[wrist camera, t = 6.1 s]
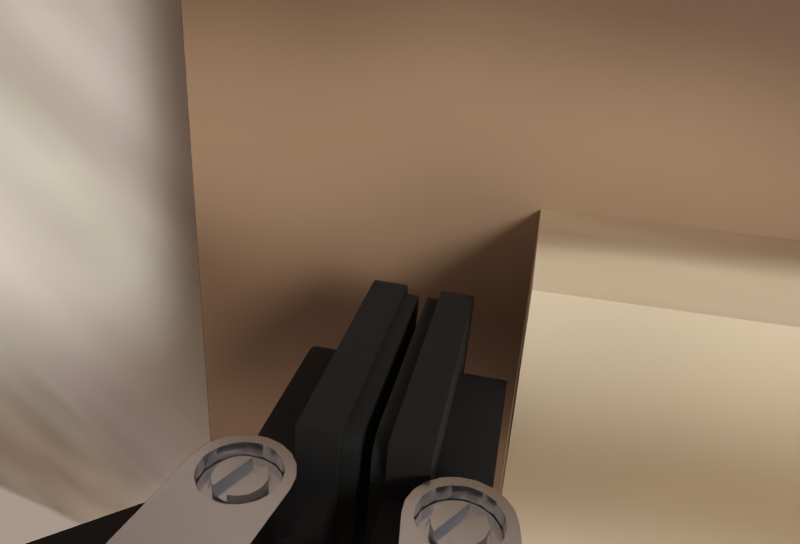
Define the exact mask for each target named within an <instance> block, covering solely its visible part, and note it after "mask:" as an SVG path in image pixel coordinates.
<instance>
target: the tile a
mask: <svg viewBox="0 0 800 544" xmlns="http://www.w3.org/2000/svg"><path fill="white" fill-rule="evenodd" d="M500 494H501V495H503V496H504V497H505V498H506V499H507V500H508V502H509V503H510V504H511V506H512V507H513V508H514V510H515V511H516V514H517V518H518V521H519V524H520V531H521V539H522V544H800V241H797V240H789V239H780V238H772V237H764V236H756V235H747V234H739V233H731V232H723V231H714V230H706V229H698V228H690V227H681V226H673V225H665V224H657V223H649V222H640V221H632V220H624V219H616V218H607V217H599V216H591V215H583V214H574V213H566V212H558V211H550V210H541V212H540V219H539V225H538V232H537V239H536V246H535V253H534V259H533V266H532V273H531V280H530V287H529V294H528V300H527V307H526V314H525V321H524V328H523V334H522V341H521V348H520V355H519V362H518V369H517V375H516V382H515V389H514V396H513V403H512V409H511V416H510V423H509V430H508V437H507V444H506V452H505V460H504V468H503V476H502V484H501V492H500Z"/></svg>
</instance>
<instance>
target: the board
mask: <svg viewBox="0 0 800 544" xmlns="http://www.w3.org/2000/svg"><path fill="white" fill-rule="evenodd" d="M181 8H182V23H183V38H184V53H185V68H186V82H187V97H188V112H189V127H190V141H191V156H192V171H193V186H194V201H195V215H196V230H197V245H198V260H199V275H200V289H201V304H202V319H203V334H204V349H205V363H206V378H207V393H208V408H209V423H210V437H211V442H212V441H215V440H217V439H219V438H224V437H228V436H233V435H258V434H259V432H260V430H261V429H262V427H263V425H264V424H265V422H266V420H267V419H268V417H269V416H270V414H271V412H272V411H273V409H274V407H275V406H276V404H277V402H278V401H279V399H280V397H281V396H282V394H283V393H284V391H285V389H286V388H287V386H288V384H289V383H290V381H291V379H292V378H293V376H294V374H295V373H296V371H297V370H298V368H299V366H300V365H301V363H302V361H303V360H304V358H305V356H306V355H307V353H308V351H309V350H310V349H311V348H312V347H313V346H320V347H325V348H331V349H336V350H337V348H338V346H339V344H340V342H341V340H342V339H343V337H344V335H345V333H346V331H347V329H348V328H349V326H350V324H351V322H352V320H353V318H354V317H355V315H356V313H357V311H358V309H359V307H360V306H361V304H362V302H363V300H364V298H365V296H366V295H367V293H368V291H369V289H370V287H371V285H372V284H373V282H374V281H375V280H380V281H386V282H392V283H398V284H404V285H407V286H408V294H412V295H418V297H419V303H418V313H417V323H418V321H419V318H420V315H421V313H422V310H423V307H424V305H425V302H426V299H427V297H430V298H436V299H439V296H440V293H441V291H446V292H452V293H458V294H464V295H470V296H474V304H473V311H472V318H471V326H470V333H469V340H468V347H467V354H466V361H465V368H464V373H467V374H473V375H478V376H483V377H489V378H494V379H500V380H505V381H507V387H506V395H505V402H504V410H503V417H502V424H501V432H500V439H499V447H498V454H497V462H496V469H495V477H494V484H493V489H495V490H496V491H497V492H499V493H500V492H501V484H502V476H503V468H504V460H505V452H506V444H507V437H508V430H509V423H510V416H511V409H512V403H513V396H514V389H515V382H516V375H517V369H518V362H519V355H520V348H521V341H522V334H523V328H524V321H525V314H526V307H527V300H528V294H529V287H530V280H531V273H532V266H533V259H534V253H535V246H536V239H537V232H538V225H539V219H540V212H541V210H550V211H558V212H566V213H574V214H583V215H591V216H599V217H607V218H616V219H624V220H632V221H640V222H649V223H657V224H665V225H673V226H681V227H690V228H698V229H706V230H714V231H723V232H731V233H739V234H747V235H756V236H764V237H772V238H780V239H789V240H797V241H800V0H181ZM417 323H416V326H417Z"/></svg>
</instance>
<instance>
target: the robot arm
mask: <svg viewBox="0 0 800 544" xmlns="http://www.w3.org/2000/svg"><path fill="white" fill-rule="evenodd" d="M418 303H419V297H418V295H412V294H408V286H407V285H404V284H398V283H392V282H386V281H380V280H375V281H374V282H373V284H372V285H371V287H370V289H369V291H368V293H367V295H366V296H365V298H364V300H363V302H362V304H361V306H360V307H359V309H358V311H357V313H356V315H355V317H354V318H353V320H352V322H351V324H350V326H349V328H348V329H347V331H346V333H345V335H344V337H343V339H342V340H341V342H340V344H339V346H338V348H337V350H336V349H331V348H325V347H320V346H313V347H312V348H311V349H310V350H309V351H308V353H307V355H306V356H305V358H304V360H303V361H302V363H301V365H300V366H299V368H298V370H297V371H296V373H295V374H294V376H293V378H292V379H291V381H290V383H289V384H288V386H287V388H286V389H285V391H284V393H283V394H282V396H281V397H280V399H279V401H278V402H277V404H276V406H275V407H274V409H273V411H272V412H271V414H270V416H269V417H268V419H267V420H266V422H265V424H264V425H263V427H262V429H261V430H260V432H259V434H258V435H233V436H228V437H224V438H219V439H217V440H215V441H212V442H210V443H208V444H206V445H204V446H202V447H201V448H200V449H199V450H197V451H196V452H195V453H193V454H192V455H191V456H190V457H189V458H188V459H187V460H186V461H185V462H184V463H183V464H182V465H181V466H180V467H179V468H178V469H177V471H176V472H175V473H174V474H173V475H172V476H171V477H170V478H169V479H168V480H167V481H166V482H165V483H164V484H163V485H162V486H161V487H160V488H159V489H158V490H157V491H156V492H155V493H154V494H153V495H152V496H151V497H150V498H149V499H148V500H147V501H146V502H144V503H142V504H139V505H136V506H133V507H130V508H127V509H124V510H121V511H119V512H116V513H113V514H110V515H107V516H104V517H101V518H98V519H96V520H93V521H90V522H87V523H84V524H81V525H78V526H76V527H73V528H70V529H67V530H64V531H61V532H58V533H56V534H53V535H50V536H47V537H44V538H41V539H38V540H35V541H32V542H30V543H27V544H522V539H521V531H520V524H519V521H518V518H517V514H516V511H515V510H514V508H513V507H512V506H511V504H510V503H509V502H508V500H507V499H506V498H505V497H504V496H503V495H501V494H500V493H499V492H497V491H496V490H495V489H493V484H494V477H495V469H496V462H497V454H498V447H499V439H500V432H501V424H502V417H503V410H504V402H505V395H506V387H507V381H505V380H500V379H494V378H489V377H483V376H478V375H473V374H467V373H464V368H465V361H466V354H467V347H468V340H469V333H470V326H471V318H472V311H473V304H474V296H470V295H464V294H458V293H452V292H446V291H441V293H440V296H439V299H436V298H430V297H427V299H426V302H425V305H424V307H423V310H422V313H421V315H420V318H419V321H418V323H417V313H418ZM416 323H417V326H416Z"/></svg>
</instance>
